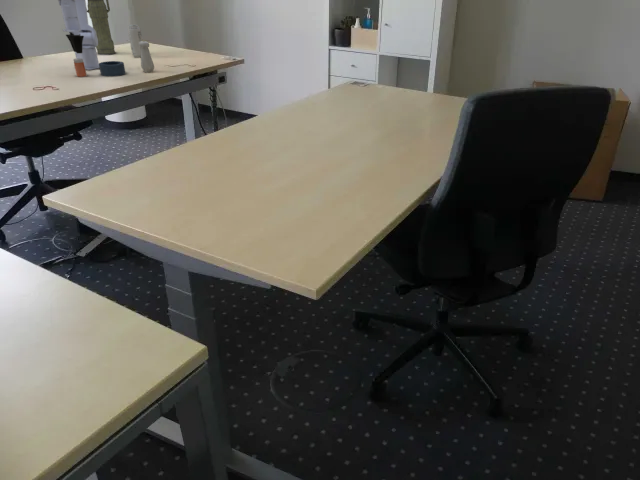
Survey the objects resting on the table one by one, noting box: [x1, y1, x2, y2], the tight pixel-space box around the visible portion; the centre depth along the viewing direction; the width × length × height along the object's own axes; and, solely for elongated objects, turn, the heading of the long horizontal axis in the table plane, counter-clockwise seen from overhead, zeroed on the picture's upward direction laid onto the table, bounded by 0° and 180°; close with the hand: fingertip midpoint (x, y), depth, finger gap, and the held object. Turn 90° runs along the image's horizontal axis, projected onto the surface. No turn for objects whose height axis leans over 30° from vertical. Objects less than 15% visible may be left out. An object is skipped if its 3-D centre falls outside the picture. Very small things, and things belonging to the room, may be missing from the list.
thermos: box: [86, 0, 116, 56], centre depth 277 cm, size 9×12×35 cm
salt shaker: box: [139, 40, 155, 73], centre depth 246 cm, size 6×6×13 cm
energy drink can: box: [127, 24, 143, 58], centre depth 277 cm, size 6×6×15 cm
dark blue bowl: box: [99, 60, 126, 77], centre depth 241 cm, size 10×10×5 cm
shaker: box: [72, 58, 88, 78], centre depth 235 cm, size 4×4×7 cm
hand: (78, 52), depth 232 cm, fingers open, 7 cm apart
